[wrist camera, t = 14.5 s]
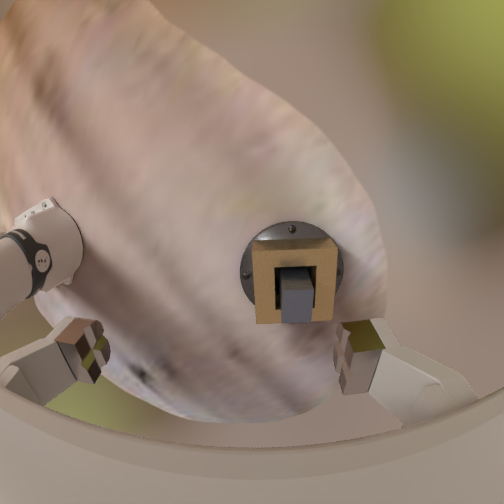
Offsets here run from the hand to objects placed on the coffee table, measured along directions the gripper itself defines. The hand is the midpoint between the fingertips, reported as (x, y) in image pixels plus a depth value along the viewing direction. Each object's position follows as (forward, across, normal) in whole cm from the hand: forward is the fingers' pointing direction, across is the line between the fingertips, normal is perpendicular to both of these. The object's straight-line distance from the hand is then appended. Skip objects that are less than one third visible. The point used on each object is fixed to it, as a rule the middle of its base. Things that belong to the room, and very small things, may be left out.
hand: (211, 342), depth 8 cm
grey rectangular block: (+34, -6, +14) cm, 37 cm away
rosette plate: (+35, -6, +13) cm, 38 cm away
